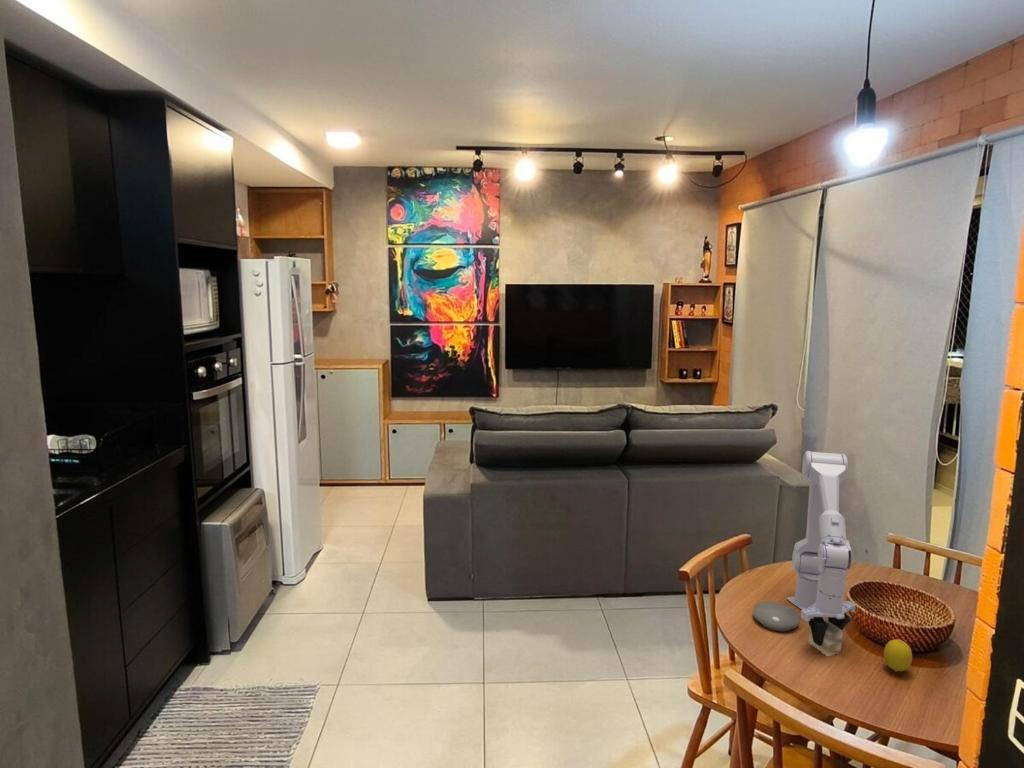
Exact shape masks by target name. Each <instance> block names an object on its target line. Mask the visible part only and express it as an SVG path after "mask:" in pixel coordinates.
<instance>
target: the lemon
mask: <svg viewBox="0 0 1024 768" xmlns="http://www.w3.org/2000/svg"><path fill="white" fill-rule="evenodd" d="M883 658H884V659H883V660H884V662H885V663H886V665H887V666H888V667H889V668H890V669H891V670H893V671H894V672H896V673H898V672H904V671H907V670H908V669H909V668H910V667H911V666H912V665H911V664H912V663H913V653H912V649H911V647H910V646H909V645H908V644H907V643H906V642H905V641H903V640H902V639H900V638H899V639H891V640H890V641H888V642H887V643H886V644H885V647H884V649H883Z"/></svg>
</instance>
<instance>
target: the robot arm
mask: <svg viewBox="0 0 1024 768" xmlns="http://www.w3.org/2000/svg"><path fill="white" fill-rule="evenodd" d="M848 470H849V460H848V457H847V455H846V454H845V453H833V452H821V451H820V452H818V451H810V450H806V451H805V452H804V453H803V457H802V466H801V475H802V478H803V479H805V480H807V481H808V484H809V487H808V501H807V502H808V505H807V519H806V529H805V531H806V532H805V538H803V539H801V540H799V541H798V542H795V544H794V545H793V551H792V555H791V557H792V558H791V566H792V570H793V572H795V574H796V582H795V590H794V596H790V597H789V596H788V597H787V598H786V600H788V601H789V602H790V603H791V604H793V605H795V606H796V607H797V608H799V609H800V610H801V613H800V618H801V619H802V620H803V621H804V622H808V625H809V629H810V628H811V631H812V637H813V642H814V643H816V644H817V645H818V646H822V643H823V639H824V634H825V631H826V629H827V627H828V626H829V624H828V623H826V622H825V621H824V619H823V618H827V620H828V621H829V622H831V623H832V624H834V625H835V626H837V627H838V628H839V629H841V630H842V631H844V629H845V628H846V627H847V625H848V624H850V622H851V616H849V615H848V614H847V613H848V612H850V613H856V604H855V603H854V602H852V601H850V600H846V601H845V600H844V598H845V589H846V580H847V572H848V570H850V569H851V568H852V565H853V564H852V563H853V552H852V551H853V550H852V548H851V545H850V541H849V539H848V540H847V531H846V530H847V529H846V528H847V527H846V519H845V517H844V516H843V515H842V514H841V513H840V484H841V483H843V481H844V479H845V478H846V476H847V475H848Z"/></svg>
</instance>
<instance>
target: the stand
mask: <svg viewBox="0 0 1024 768" xmlns="http://www.w3.org/2000/svg"><path fill="white" fill-rule="evenodd" d="M752 614H753V617H754V618H755V619H756V620H757V622H758V621H759V622H760V623H761V624H762V626H763V627H765V628H766V627H767V628H766V629H769V630H771V629H772V631H775V630H776V631H775V632H789V631H791V630H793V629H794V628H796V627H798V625H799V624H800V615H799V613H798V612H797V611H796V610H795V609H793V608H792V607H790V606H788V605H786V604H783V603H780V602H775V601H760V602H757V603H755V605H754V606H753V613H752ZM759 622H758V623H759ZM760 623H759V624H760ZM761 624H760V625H761Z"/></svg>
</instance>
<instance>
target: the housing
mask: <svg viewBox="0 0 1024 768" xmlns="http://www.w3.org/2000/svg"><path fill="white" fill-rule="evenodd" d="M823 619H824V621H825V622H826V623H828V624H829V626H828V627H827V629H826V631H825V634H824V639H823V643H822V646H818V645H817V644H816V643H814V642H813V637H812V631H811V628H810V627H809V633H808V634H809V635H808V644H810V645H811V646H813V647H814V648H815V649H816V650H818V652H820V651H821V652H820V653H821V654H823V655H824V654H825V656H826V657H827V656H828V657H832V656H836V655H835V654H837V655H840V653H841V651H842V646H843V645H842V644H843V635H844V630H841V629H839V628H838V627H837V626H835V625H834V624H832V623H831V622H829V621H828V619H826V617H823Z"/></svg>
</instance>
